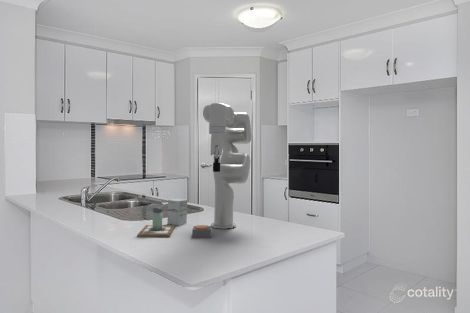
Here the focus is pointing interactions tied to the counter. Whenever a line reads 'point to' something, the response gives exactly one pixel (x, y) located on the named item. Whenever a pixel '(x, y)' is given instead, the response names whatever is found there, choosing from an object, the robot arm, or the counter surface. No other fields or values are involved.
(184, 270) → the counter surface
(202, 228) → the button
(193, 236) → the button housing
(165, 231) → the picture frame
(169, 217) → the supplement box
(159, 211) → the cylinder
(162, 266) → the counter surface
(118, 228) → the counter surface
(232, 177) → the robot arm
